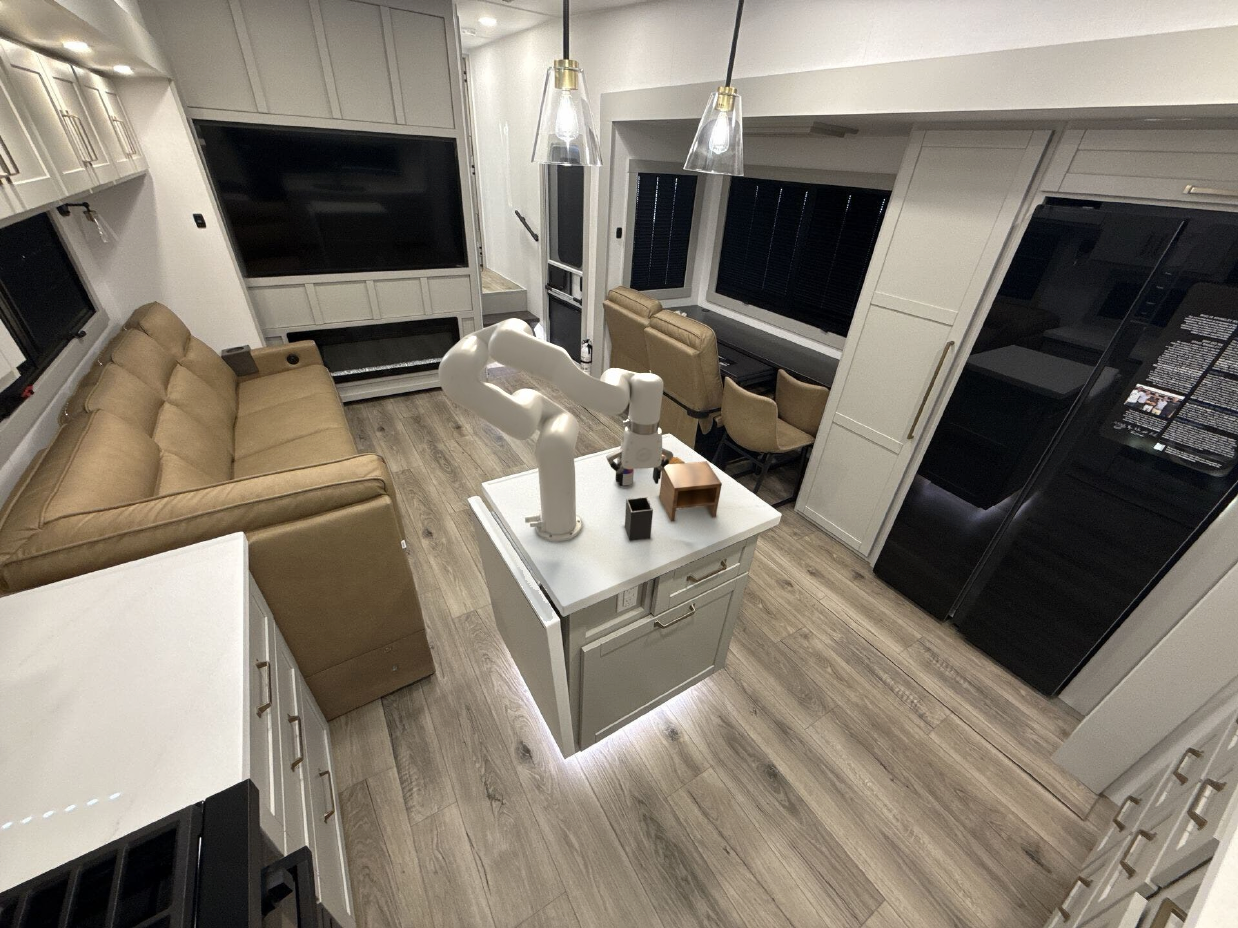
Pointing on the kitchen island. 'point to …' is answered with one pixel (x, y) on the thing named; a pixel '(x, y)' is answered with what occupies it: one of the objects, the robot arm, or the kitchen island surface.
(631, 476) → the energy drink
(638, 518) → the holder
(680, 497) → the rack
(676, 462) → the pastry
